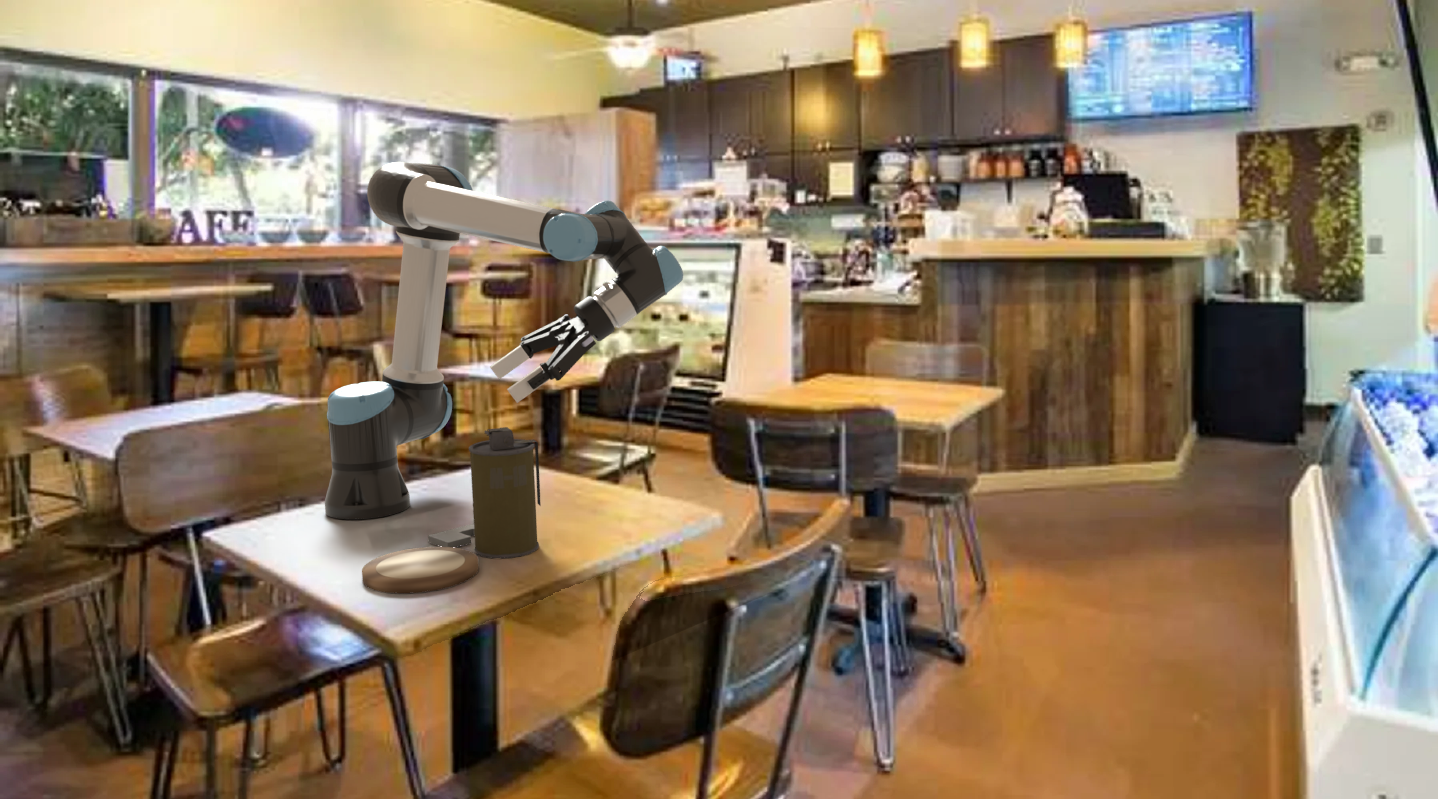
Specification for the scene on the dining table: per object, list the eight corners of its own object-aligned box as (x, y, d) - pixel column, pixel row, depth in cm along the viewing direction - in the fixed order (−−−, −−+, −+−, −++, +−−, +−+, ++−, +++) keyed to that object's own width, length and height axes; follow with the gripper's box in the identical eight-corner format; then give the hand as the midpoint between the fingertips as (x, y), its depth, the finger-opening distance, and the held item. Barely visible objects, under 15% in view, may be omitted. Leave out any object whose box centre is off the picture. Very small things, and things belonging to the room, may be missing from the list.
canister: (480, 562, 157) (474, 438, 154) (469, 544, 167) (462, 426, 163) (548, 553, 161) (543, 431, 158) (533, 535, 171) (528, 420, 167)
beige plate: (341, 575, 152) (340, 565, 152) (439, 548, 164) (439, 539, 164) (400, 602, 140) (399, 591, 140) (500, 571, 153) (500, 561, 153)
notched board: (428, 542, 168) (428, 535, 167) (486, 526, 176) (486, 520, 176) (448, 549, 164) (447, 542, 163) (507, 533, 172) (506, 526, 172)
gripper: (572, 280, 182) (475, 348, 178) (615, 310, 160) (506, 388, 157) (593, 313, 185) (499, 380, 182) (638, 347, 164) (533, 424, 160)
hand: (502, 384), depth 169 cm, fingers open, 13 cm apart
